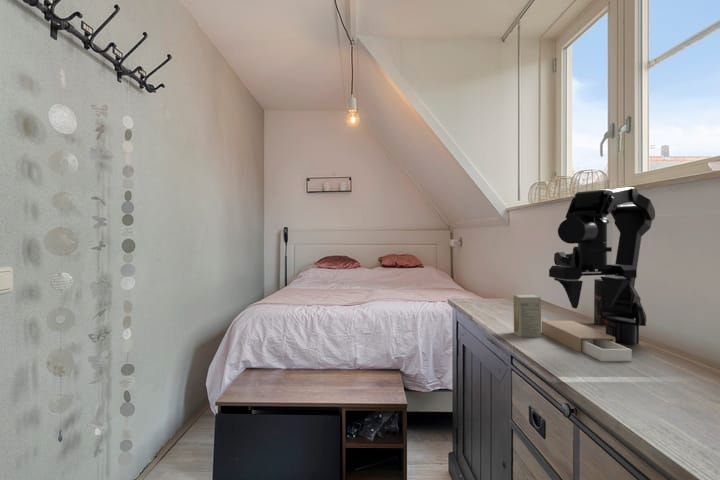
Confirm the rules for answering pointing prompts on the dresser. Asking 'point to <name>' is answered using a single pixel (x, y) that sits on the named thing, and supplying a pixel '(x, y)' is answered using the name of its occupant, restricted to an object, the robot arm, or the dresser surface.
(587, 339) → the soap bar
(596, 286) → the deodorant
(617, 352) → the tray
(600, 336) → the sleeve
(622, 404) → the dresser surface
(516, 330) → the skincare box
